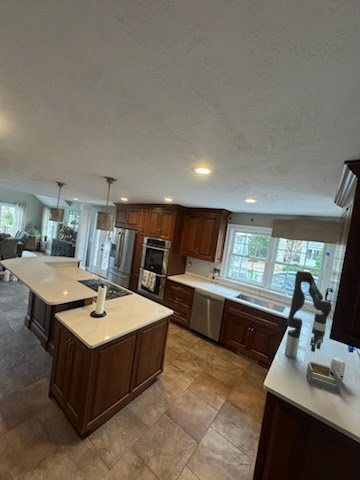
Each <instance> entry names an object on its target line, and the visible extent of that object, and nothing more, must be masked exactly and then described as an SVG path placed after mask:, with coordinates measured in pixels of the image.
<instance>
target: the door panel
mask: <svg viewBox="0 0 360 480" xmlns="http://www.w3.org/2000/svg"><path fill="white" fill-rule="evenodd" d="M309 363H310V364H311V367H312V369H313V372H314V373H317V374H320V375H323V376H327V377H329V372H330V366H328V365H326V364H322V363H318V362H316V361H309Z"/></svg>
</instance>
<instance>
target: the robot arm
mask: <svg viewBox="0 0 360 480" xmlns="http://www.w3.org/2000/svg"><path fill="white" fill-rule="evenodd" d="M294 278H295V281H294V289H293V294H292V298H291V303H290V310H289V314H288V316H287V321H286V322H287V327H289V328H292V329H290V330H288V331H287V336H286V342H285V349H284V354H285V355H286V356H287V357H289V358H291V359H292V358H293V359H297V357H298V350H299V344H300V343H299V342H300V337H301V332H302V327H303V320H302V318H300V317H296V316H295V315H296V314H297V312H298V311H300V310H301V309H302V308H303V307H304V305H305V301H306V295H305V294H304V292H303V290H302V283H307V284H308V285H309V287H308V294H309V296H310V298H311V299H312V303H313V307H314V309H316V311H320V312H316V313H315V314H314V319H313V320H314V321H313V323H312V329H311V333H312V334H313V336H311V338H310V343H309V346H311V348H310V351H311V352H312V353H315V351H316V349H317V350H320V349H321V345H322V344H323V342H324V337H325V334H326V328H327V326H326V325H327V319H328V317H329V315H330V313H331V311H332V304H331V303H330V301H327V300H324V296H323V294H322V293H321V292H320V290H319V288H318V287H317V284H316V282H315V278H314V275H313V274H312V273H311V272H310V271H307V270H297V271H296V274H295V277H294Z"/></svg>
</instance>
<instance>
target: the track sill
mask: <svg viewBox="0 0 360 480" xmlns="http://www.w3.org/2000/svg"><path fill="white" fill-rule="evenodd" d="M305 376H306V377H305V378H306V379H307V383H308V384H309V385H312V386H315V387H319V388H322V389H324V390H328V391H330V392H332V393H336V394H340V393H341V386H342V382H341V380H342V379H341V377H340V376H339V374H338V372H337V371H335V373H334V379H333V378H330V377H327V376H323V375H320V374H317V373H314V372H313V369H312V367H311V364H310V362H307V369H306V375H305Z"/></svg>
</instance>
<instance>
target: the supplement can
mask: <svg viewBox="0 0 360 480" xmlns="http://www.w3.org/2000/svg"><path fill="white" fill-rule="evenodd" d="M329 368H330V372H329V377H330V378H333V379H334V373H335V371H337V372H338V374H339V376H340V377H341V379H342V380H341V383H343V381H344V375H345V368H346V363H345V360H343V359H342V358H339V357H336V356H332V358H331V361H330V366H329Z"/></svg>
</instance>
